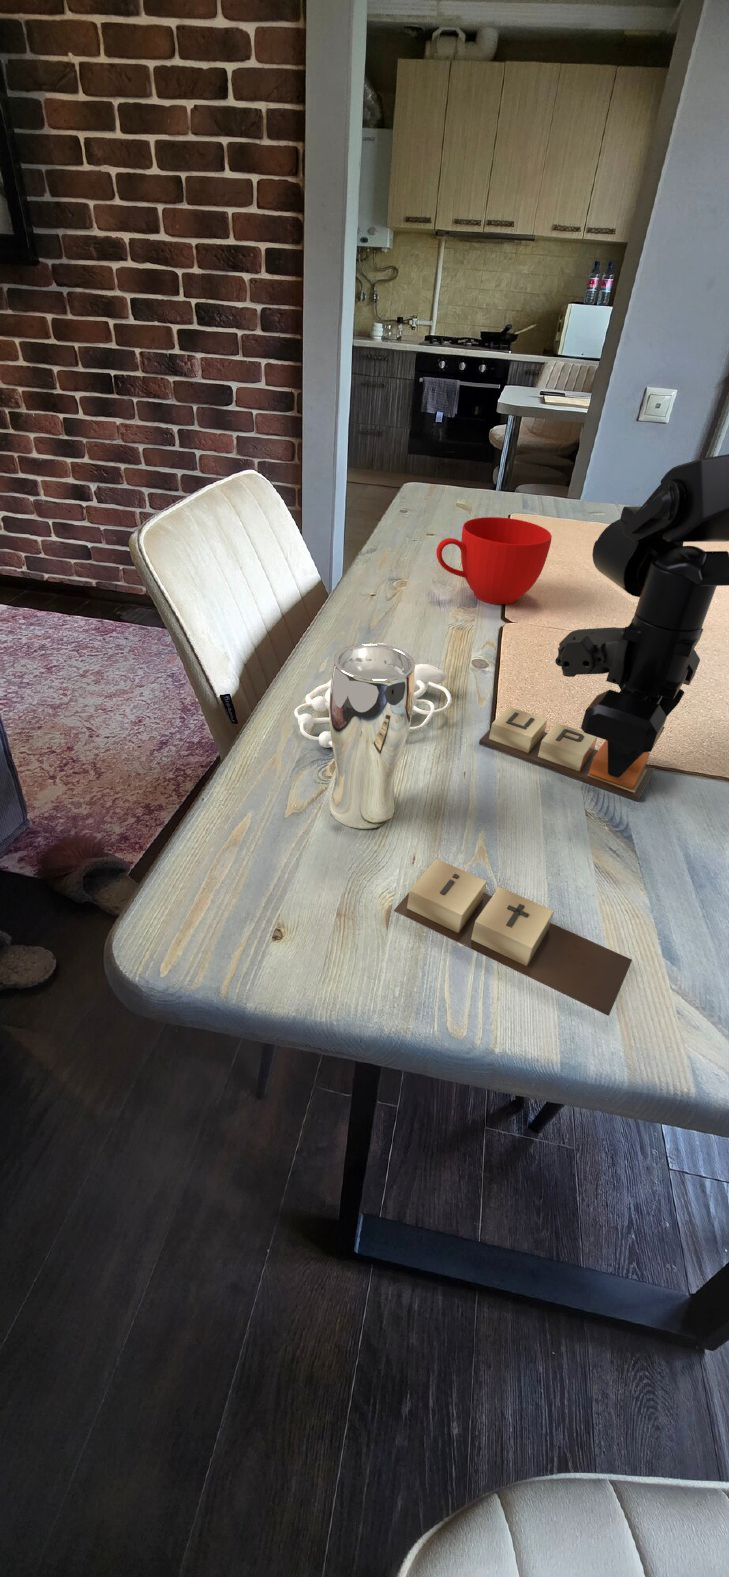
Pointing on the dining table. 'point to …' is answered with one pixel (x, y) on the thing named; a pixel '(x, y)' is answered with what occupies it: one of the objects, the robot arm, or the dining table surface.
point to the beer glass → (368, 730)
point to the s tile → (628, 777)
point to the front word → (515, 935)
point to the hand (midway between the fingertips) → (620, 764)
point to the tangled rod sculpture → (422, 681)
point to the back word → (554, 749)
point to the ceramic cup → (499, 557)
